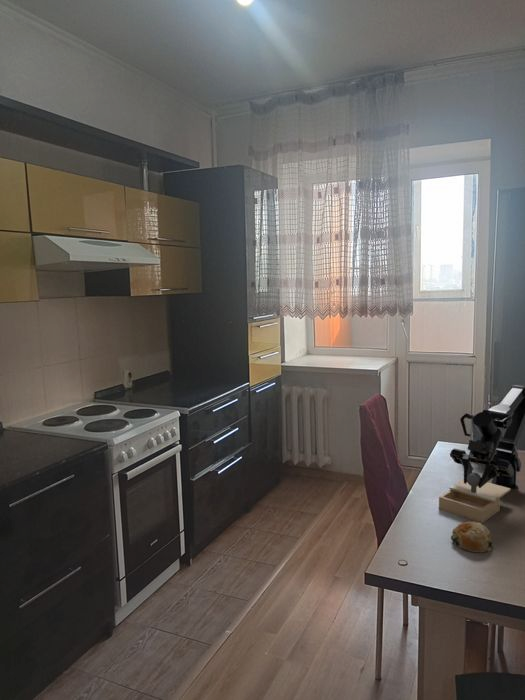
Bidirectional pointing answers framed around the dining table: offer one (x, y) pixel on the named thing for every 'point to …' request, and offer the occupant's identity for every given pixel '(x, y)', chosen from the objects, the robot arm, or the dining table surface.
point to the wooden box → (468, 506)
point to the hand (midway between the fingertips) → (471, 485)
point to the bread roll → (472, 537)
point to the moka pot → (474, 430)
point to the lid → (485, 492)
